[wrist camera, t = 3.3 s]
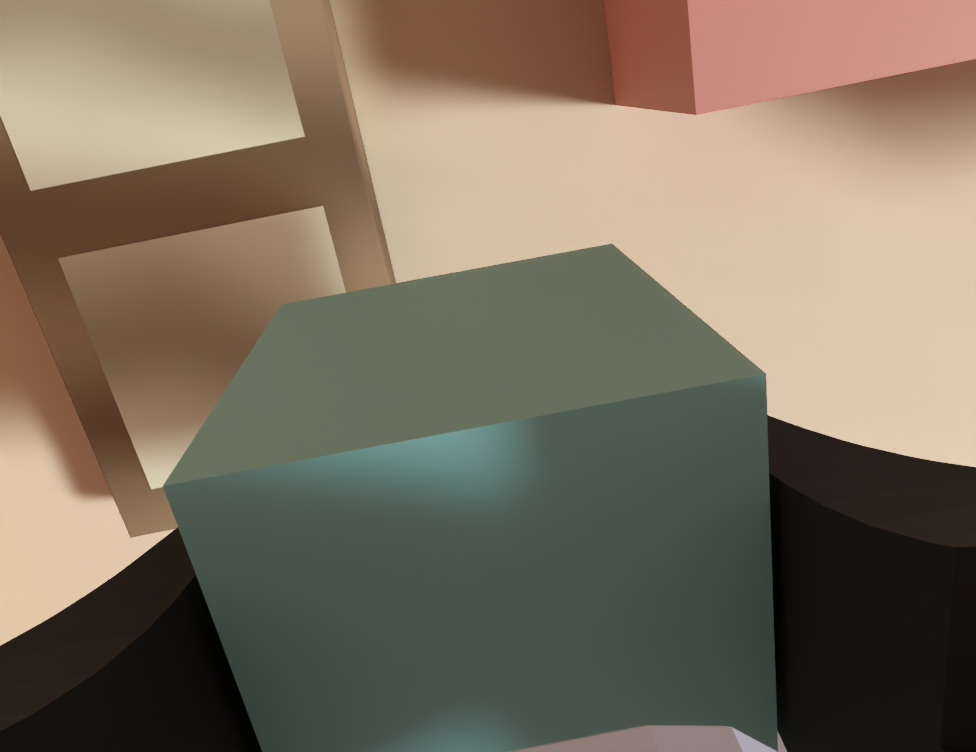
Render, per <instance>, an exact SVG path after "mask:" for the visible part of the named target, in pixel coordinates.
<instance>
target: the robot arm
mask: <svg viewBox="0 0 976 752" xmlns="http://www.w3.org/2000/svg"><path fill="white" fill-rule="evenodd" d="M767 428H768V458H769V489H770V520H771V551H772V582H773V613H774V644H775V674H776V705H777V736H778V752H976V467H969V466H962V465H955V464H948V463H942V462H936V461H930V460H925V459H919V458H914V457H909V456H904V455H900V454H896V453H891V452H887V451H882V450H878V449H874V448H869V447H865V446H861V445H857V444H854V443H850V442H846V441H843V440H839V439H836V438H833V437H830V436H826V435H823V434H820V433H817V432H814V431H810V430H807V429H804V428H801V427H798V426H796V425H793V424H790V423H787V422H784V421H781V420H779V419H776V418H773V417H770V416H768V415H767ZM0 752H262V750H261V747H260V744H259V742H258V739H257V736H256V734H255V731H254V728H253V726H252V723H251V720H250V718H249V715H248V712H247V710H246V707H245V704H244V702H243V699H242V696H241V694H240V691H239V688H238V686H237V683H236V680H235V678H234V675H233V672H232V670H231V667H230V664H229V662H228V659H227V656H226V654H225V651H224V648H223V646H222V643H221V640H220V638H219V635H218V632H217V630H216V627H215V624H214V622H213V619H212V616H211V614H210V611H209V608H208V606H207V603H206V600H205V598H204V595H203V592H202V590H201V587H200V584H199V582H198V579H197V576H196V574H195V571H194V568H193V566H192V563H191V560H190V558H189V555H188V552H187V549H186V547H185V544H184V541H183V539H182V536H181V533H180V531H179V528H178V527H177V528H176V529H175V530H174V531H173V532H171V533H170V534H169V535H168V536H166V537H165V538H164V539H162V540H161V541H160V542H158V543H157V544H156V545H155V546H153V547H152V548H151V549H149V550H148V551H147V552H146V553H144V554H143V555H142V556H140V557H139V558H138V559H136V560H135V561H134V562H133V563H131V564H130V565H129V566H127V567H126V568H125V569H123V570H122V571H121V572H119V573H118V574H117V575H115V576H114V577H112V578H111V579H110V580H108V581H107V582H105V583H104V584H102V585H101V586H99V587H98V588H96V589H95V590H93V591H92V592H90V593H89V594H87V595H86V596H84V597H83V598H81V599H80V600H78V601H76V602H75V603H73V604H72V605H70V606H69V607H67V608H66V609H64V610H62V611H61V612H59V613H58V614H56V615H54V616H53V617H51V618H49V619H48V620H46V621H44V622H43V623H41V624H39V625H37V626H35V627H34V628H32V629H30V630H28V631H26V632H25V633H23V634H21V635H19V636H17V637H16V638H14V639H12V640H10V641H8V642H6V643H5V644H3V645H1V646H0ZM508 752H777V751H775V750H773V749H772V748H770V747H768V746H766V745H764V744H762V743H760V742H759V741H757V740H755V739H753V738H751V737H749V736H747V735H746V734H744V733H742V732H740V731H738V730H736V729H734V728H733V727H729V726H701V725H643V726H638V727H633V728H628V729H622V730H617V731H612V732H607V733H602V734H596V735H591V736H586V737H581V738H576V739H570V740H565V741H560V742H555V743H550V744H544V745H539V746H534V747H529V748H524V749H518V750H513V751H508Z"/></svg>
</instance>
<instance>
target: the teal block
mask: <svg viewBox="0 0 976 752" xmlns="http://www.w3.org/2000/svg"><path fill="white" fill-rule="evenodd" d="M163 488H164V491H165V493H166V496H167V499H168V501H169V504H170V507H171V509H172V512H173V515H174V517H175V520H176V523H177V525H178V528H179V531H180V533H181V536H182V539H183V541H184V544H185V547H186V549H187V552H188V555H189V558H190V560H191V563H192V566H193V568H194V571H195V574H196V576H197V579H198V582H199V584H200V587H201V590H202V592H203V595H204V598H205V600H206V603H207V606H208V608H209V611H210V614H211V616H212V619H213V622H214V624H215V627H216V630H217V632H218V635H219V638H220V640H221V643H222V646H223V648H224V651H225V654H226V656H227V659H228V662H229V664H230V667H231V670H232V672H233V675H234V678H235V680H236V683H237V686H238V688H239V691H240V694H241V696H242V699H243V702H244V704H245V707H246V710H247V712H248V715H249V718H250V720H251V723H252V726H253V728H254V731H255V734H256V736H257V739H258V742H259V744H260V747H261V750H262V752H508V751H513V750H518V749H524V748H529V747H534V746H539V745H544V744H550V743H555V742H560V741H565V740H570V739H576V738H581V737H586V736H591V735H596V734H602V733H607V732H612V731H617V730H622V729H628V728H633V727H638V726H643V725H701V726H729V727H733V728H734V729H736V730H738V731H740V732H742V733H744V734H746V735H747V736H749V737H751V738H753V739H755V740H757V741H759V742H760V743H762V744H764V745H766V746H768V747H770V748H772V749H773V750H775V751H777V752H778V736H777V705H776V674H775V644H774V613H773V582H772V551H771V520H770V489H769V458H768V428H767V397H766V374H765V373H764V372H763V371H762V370H761V369H759V368H758V367H757V366H756V365H755V364H754V363H752V362H751V361H750V360H749V359H748V358H746V357H745V356H744V355H743V354H742V353H741V352H739V351H738V350H737V349H736V348H735V347H733V346H732V345H731V344H730V343H729V342H728V341H726V340H725V339H724V338H723V337H722V336H720V335H719V334H718V333H717V332H716V331H714V330H713V329H712V328H711V327H710V326H709V325H707V324H706V323H705V322H704V321H703V320H701V319H700V318H699V317H698V316H697V315H696V314H694V313H693V312H692V311H691V310H690V309H688V308H687V307H686V306H685V305H684V304H683V303H681V302H680V301H679V300H678V299H677V298H675V297H674V296H673V295H672V294H671V293H669V292H668V291H667V290H666V289H665V288H664V287H662V286H661V285H660V284H659V283H658V282H656V281H655V280H654V279H653V278H652V277H651V276H649V275H648V274H647V273H646V272H645V271H643V270H642V269H641V268H640V267H639V266H638V265H636V264H635V263H634V262H633V261H632V260H630V259H629V258H628V257H627V256H626V255H624V254H623V253H622V252H621V251H620V250H619V249H617V248H616V247H615V246H614V245H613V244H608V245H603V246H597V247H592V248H586V249H581V250H576V251H570V252H565V253H559V254H554V255H548V256H543V257H537V258H532V259H526V260H521V261H516V262H510V263H505V264H499V265H494V266H488V267H483V268H477V269H472V270H466V271H461V272H455V273H450V274H445V275H439V276H434V277H428V278H423V279H417V280H412V281H406V282H401V283H395V284H390V285H385V286H379V287H374V288H368V289H363V290H357V291H352V292H346V293H341V294H335V295H330V296H325V297H319V298H314V299H308V300H303V301H297V302H292V303H286V304H281V306H280V307H279V309H278V310H277V312H276V313H275V315H274V316H273V318H272V320H271V321H270V323H269V324H268V326H267V327H266V329H265V330H264V332H263V333H262V335H261V336H260V338H259V339H258V341H257V342H256V344H255V346H254V347H253V349H252V350H251V352H250V353H249V355H248V356H247V358H246V359H245V361H244V362H243V364H242V365H241V367H240V368H239V370H238V372H237V373H236V375H235V376H234V378H233V379H232V381H231V382H230V384H229V385H228V387H227V388H226V390H225V391H224V393H223V394H222V396H221V398H220V399H219V401H218V402H217V404H216V405H215V407H214V408H213V410H212V411H211V413H210V414H209V416H208V417H207V419H206V421H205V422H204V424H203V425H202V427H201V428H200V430H199V431H198V433H197V434H196V436H195V437H194V439H193V440H192V442H191V443H190V445H189V447H188V448H187V450H186V451H185V453H184V454H183V456H182V457H181V459H180V460H179V462H178V463H177V465H176V466H175V468H174V469H173V471H172V473H171V474H170V476H169V477H168V479H167V480H166V482H165V483H164V485H163Z"/></svg>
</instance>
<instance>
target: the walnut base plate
mask: <svg viewBox="0 0 976 752" xmlns="http://www.w3.org/2000/svg"><path fill="white" fill-rule="evenodd" d="M0 233H1V236H2V238H3V240H4V243H5V245H6V247H7V250H8V252H9V254H10V257H11V259H12V261H13V264H14V266H15V268H16V271H17V273H18V275H19V278H20V280H21V282H22V285H23V287H24V289H25V292H26V294H27V296H28V299H29V301H30V303H31V306H32V308H33V310H34V313H35V315H36V317H37V320H38V322H39V324H40V327H41V329H42V332H43V334H44V336H45V339H46V341H47V343H48V346H49V348H50V350H51V353H52V355H53V357H54V360H55V362H56V364H57V367H58V369H59V371H60V374H61V376H62V378H63V381H64V383H65V385H66V388H67V390H68V392H69V395H70V397H71V399H72V402H73V404H74V406H75V409H76V411H77V413H78V416H79V418H80V420H81V423H82V425H83V427H84V430H85V432H86V435H87V437H88V439H89V442H90V444H91V446H92V449H93V451H94V453H95V456H96V458H97V460H98V463H99V465H100V467H101V470H102V472H103V474H104V477H105V479H106V481H107V484H108V486H109V488H110V491H111V493H112V495H113V498H114V500H115V502H116V505H117V507H118V509H119V512H120V514H121V516H122V519H123V521H124V523H125V526H126V528H127V530H128V533H129V535H130V537H135V536H140V535H145V534H150V533H155V532H160V531H165V530H170V529H175V528H177V527H178V525H177V523H176V520H175V517H174V515H173V512H172V509H171V507H170V504H169V501H168V499H167V496H166V493H165V491H164V488H163V485H164V483H165V482H166V480H167V479H168V477H169V476H170V474H171V473H172V471H173V469H174V468H175V466H176V465H177V463H178V462H179V460H180V459H181V457H182V456H183V454H184V453H185V451H186V450H187V448H188V447H189V445H190V443H191V442H192V440H193V439H194V437H195V436H196V434H197V433H198V431H199V430H200V428H201V427H202V425H203V424H204V422H205V421H206V419H207V417H208V416H209V414H210V413H211V411H212V410H213V408H214V407H215V405H216V404H217V402H218V401H219V399H220V398H221V396H222V394H223V393H224V391H225V390H226V388H227V387H228V385H229V384H230V382H231V381H232V379H233V378H234V376H235V375H236V373H237V372H238V370H239V368H240V367H241V365H242V364H243V362H244V361H245V359H246V358H247V356H248V355H249V353H250V352H251V350H252V349H253V347H254V346H255V344H256V342H257V341H258V339H259V338H260V336H261V335H262V333H263V332H264V330H265V329H266V327H267V326H268V324H269V323H270V321H271V320H272V318H273V316H274V315H275V313H276V312H277V310H278V309H279V307H280V306H281V304H286V303H292V302H297V301H303V300H308V299H314V298H319V297H325V296H330V295H335V294H341V293H346V292H352V291H357V290H363V289H368V288H374V287H379V286H385V285H390V284H395V283H396V282H395V277H394V273H393V269H392V265H391V261H390V256H389V252H388V248H387V244H386V239H385V235H384V231H383V227H382V222H381V218H380V214H379V210H378V205H377V201H376V197H375V193H374V188H373V184H372V180H371V176H370V171H369V167H368V163H367V159H366V154H365V150H364V146H363V142H362V138H361V133H360V129H359V125H358V121H357V116H356V112H355V108H354V104H353V99H352V95H351V91H350V87H349V82H348V78H347V74H346V70H345V65H344V61H343V57H342V53H341V48H340V44H339V40H338V36H337V31H336V27H335V23H334V19H333V15H332V10H331V6H330V2H329V0H0Z"/></svg>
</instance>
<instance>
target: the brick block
mask: <svg viewBox="0 0 976 752" xmlns="http://www.w3.org/2000/svg"><path fill="white" fill-rule="evenodd" d="M604 7H605V16H606V24H607V33H608V42H609V51H610V60H611V68H612V77H613V86H614V95H615V104H616V105H620V106H628V107H637V108H645V109H653V110H661V111H669V112H678V113H686V114H694V115H697V114H702V113H707V112H712V111H717V110H722V109H727V108H732V107H737V106H743V105H748V104H753V103H758V102H763V101H768V100H773V99H778V98H783V97H788V96H793V95H798V94H803V93H808V92H813V91H818V90H823V89H828V88H833V87H838V86H843V85H848V84H853V83H858V82H863V81H868V80H873V79H878V78H883V77H888V76H893V75H898V74H903V73H908V72H913V71H918V70H923V69H928V68H933V67H938V66H943V65H948V64H953V63H958V62H963V61H968V60H973V59H976V0H604Z"/></svg>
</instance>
